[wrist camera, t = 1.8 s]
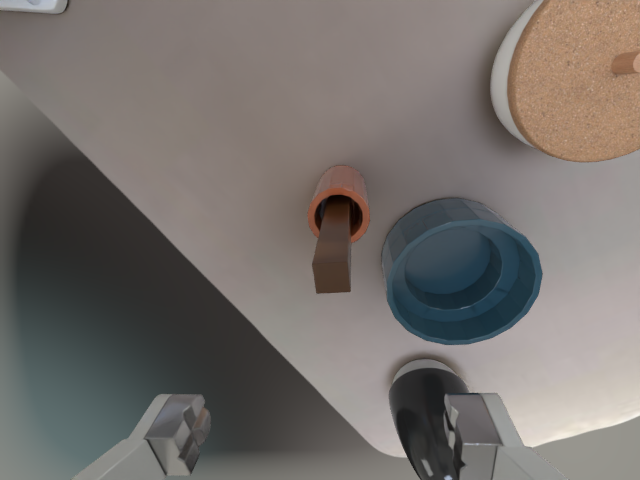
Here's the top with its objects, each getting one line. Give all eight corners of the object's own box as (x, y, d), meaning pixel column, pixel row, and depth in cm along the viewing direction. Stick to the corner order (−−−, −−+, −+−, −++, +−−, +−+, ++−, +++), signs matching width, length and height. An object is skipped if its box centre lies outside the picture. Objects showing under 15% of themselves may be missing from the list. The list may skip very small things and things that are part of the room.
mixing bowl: (383, 307, 41) (389, 346, 34) (378, 202, 35) (384, 226, 29) (500, 302, 39) (529, 343, 33) (516, 190, 33) (554, 213, 27)
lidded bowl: (504, -30, 26) (599, -106, 16) (656, 1, 26) (848, -56, 16) (449, 130, 31) (494, 147, 21) (574, 156, 31) (678, 186, 21)
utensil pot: (321, 213, 36) (311, 247, 28) (315, 167, 34) (303, 191, 26) (367, 209, 35) (371, 243, 27) (364, 162, 33) (367, 184, 25)
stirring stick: (333, 200, 35) (316, 293, 18) (331, 182, 34) (311, 264, 18) (351, 198, 34) (350, 292, 18) (349, 180, 34) (347, 261, 17)
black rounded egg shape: (456, 401, 46) (500, 530, 33) (384, 397, 48) (397, 521, 34) (466, 347, 42) (521, 470, 28) (387, 345, 43) (403, 462, 30)
